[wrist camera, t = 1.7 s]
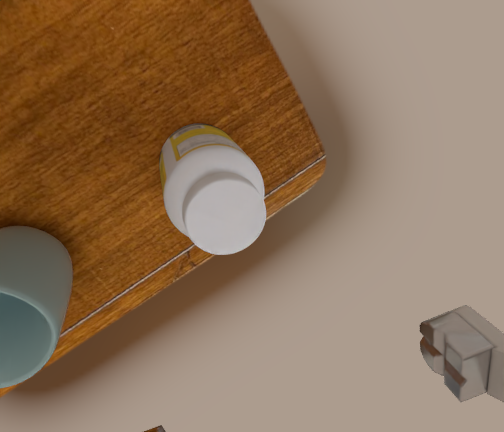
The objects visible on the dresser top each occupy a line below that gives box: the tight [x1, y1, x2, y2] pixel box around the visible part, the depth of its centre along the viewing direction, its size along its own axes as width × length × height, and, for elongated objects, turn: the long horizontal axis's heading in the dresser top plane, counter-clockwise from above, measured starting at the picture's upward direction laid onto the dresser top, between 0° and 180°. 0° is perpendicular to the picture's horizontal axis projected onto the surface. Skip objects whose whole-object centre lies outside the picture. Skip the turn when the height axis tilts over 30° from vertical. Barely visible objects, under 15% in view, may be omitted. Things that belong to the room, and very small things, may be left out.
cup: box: [0, 226, 73, 388], centre depth 26 cm, size 8×8×10 cm
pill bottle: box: [159, 124, 266, 255], centre depth 26 cm, size 6×6×12 cm
